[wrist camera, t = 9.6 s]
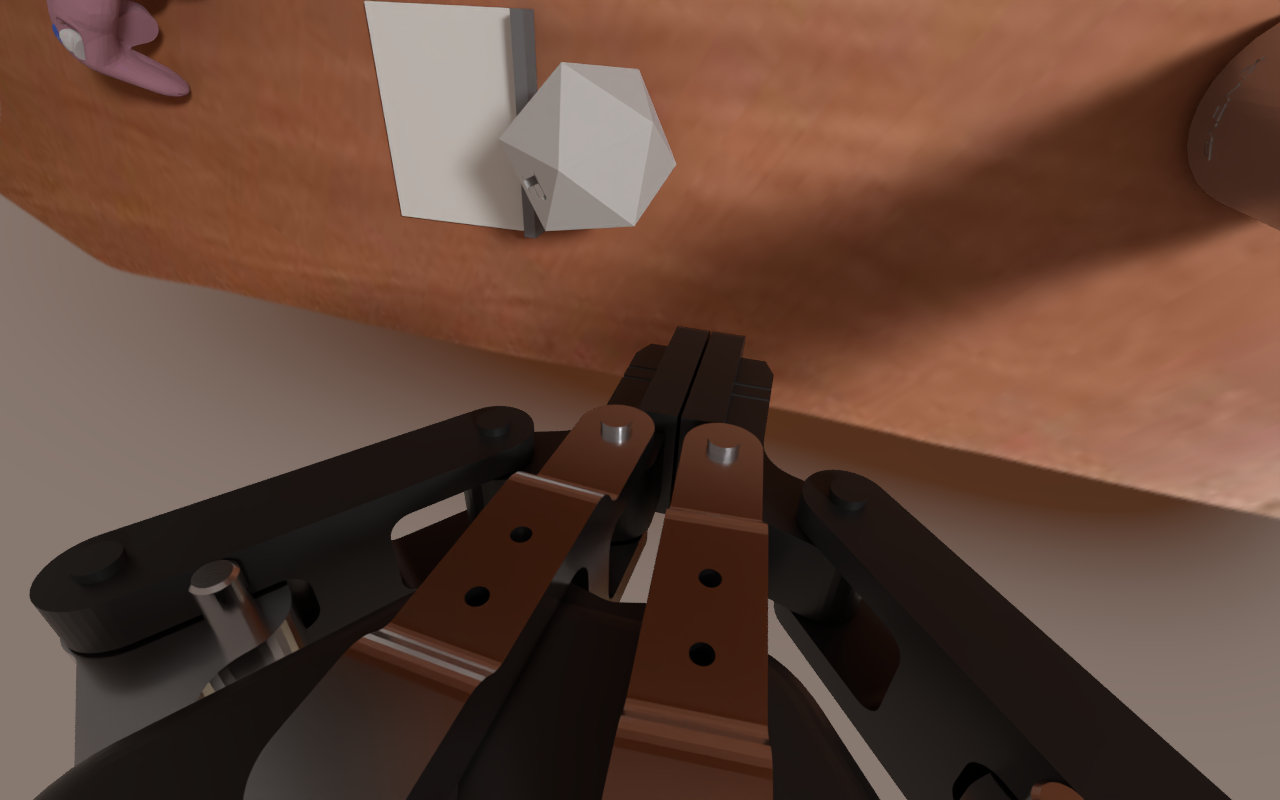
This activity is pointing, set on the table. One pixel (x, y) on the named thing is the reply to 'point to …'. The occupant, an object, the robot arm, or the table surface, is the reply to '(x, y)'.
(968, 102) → the table surface
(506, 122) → the white l-shaped plate
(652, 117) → the die
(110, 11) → the video game controller
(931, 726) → the robot arm
